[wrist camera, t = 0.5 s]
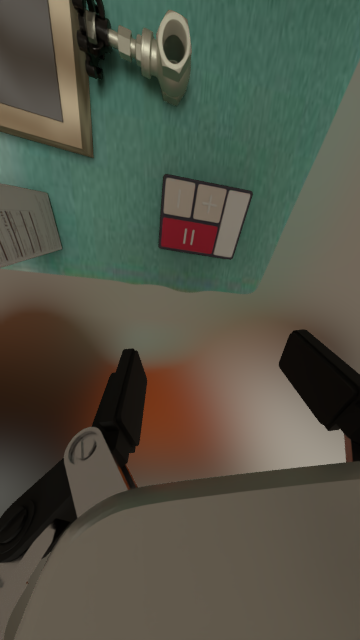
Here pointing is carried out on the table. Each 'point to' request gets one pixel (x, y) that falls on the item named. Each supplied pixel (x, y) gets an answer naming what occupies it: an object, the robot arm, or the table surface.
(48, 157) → the table surface
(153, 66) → the valve
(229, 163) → the table surface
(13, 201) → the supplement box
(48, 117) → the tapered tan tray
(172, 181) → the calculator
